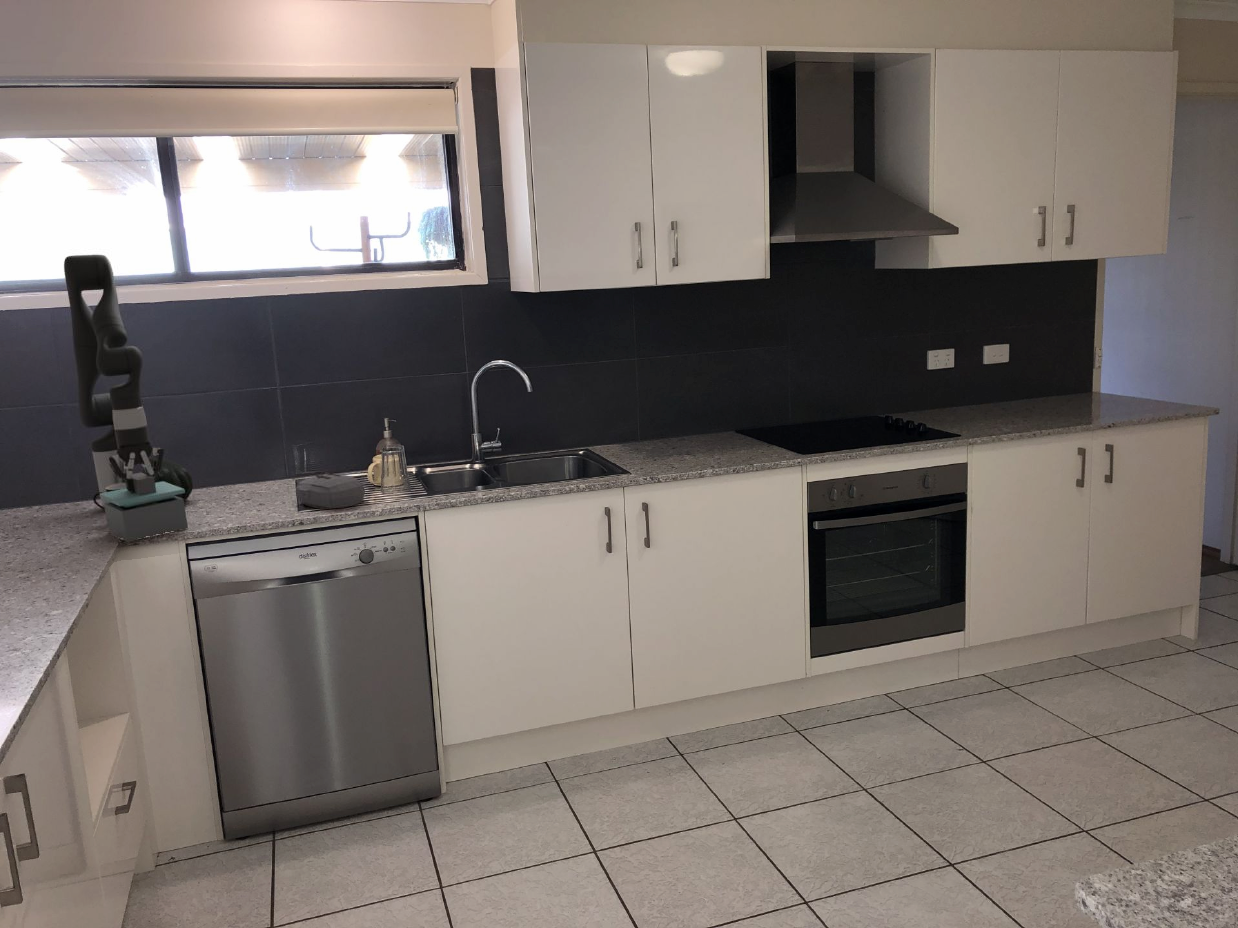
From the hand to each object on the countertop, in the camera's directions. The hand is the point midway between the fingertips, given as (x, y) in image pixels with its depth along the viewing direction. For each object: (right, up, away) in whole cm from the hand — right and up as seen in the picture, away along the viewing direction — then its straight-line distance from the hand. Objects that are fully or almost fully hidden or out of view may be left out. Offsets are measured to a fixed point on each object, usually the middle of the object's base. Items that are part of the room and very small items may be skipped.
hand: (141, 490), depth 257 cm
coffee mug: (-12, -9, +15) cm, 21 cm away
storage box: (+1, -11, +2) cm, 11 cm away
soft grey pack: (+44, -4, +20) cm, 49 cm away
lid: (0, -1, 0) cm, 1 cm away
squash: (-8, -5, +32) cm, 33 cm away
